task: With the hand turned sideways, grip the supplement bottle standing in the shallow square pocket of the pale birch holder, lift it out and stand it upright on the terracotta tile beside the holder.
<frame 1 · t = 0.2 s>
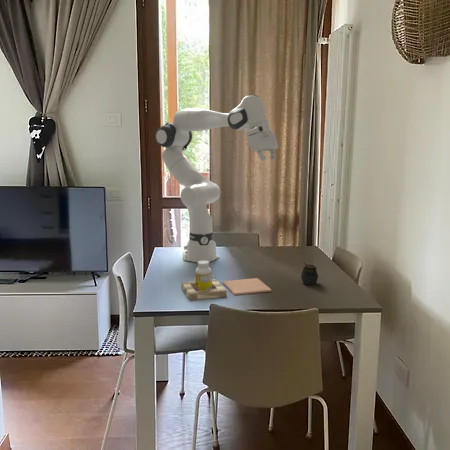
hand: (268, 160, 212), 52 cm above the table, tool tilted 20°, fingers open, 8 cm apart
mate gourd: (309, 283, 205), on the table
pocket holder: (203, 292, 193), on the table
terracotta tile: (246, 287, 200), on the table
supplement bottle: (203, 292, 193), resting in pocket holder
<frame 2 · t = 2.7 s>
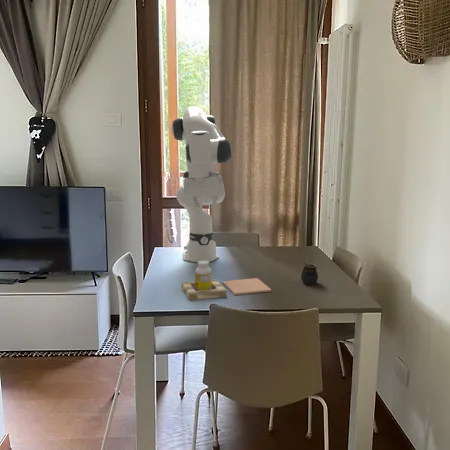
hand: (205, 207, 187), 35 cm above the table, tool pointing down, fingers open, 8 cm apart
nothing on the table moved.
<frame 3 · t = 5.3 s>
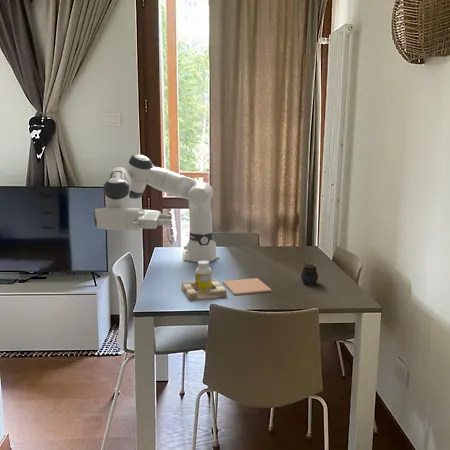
hand: (170, 219, 186), 30 cm above the table, tool horizontal, fingers open, 8 cm apart
nothing on the table moved.
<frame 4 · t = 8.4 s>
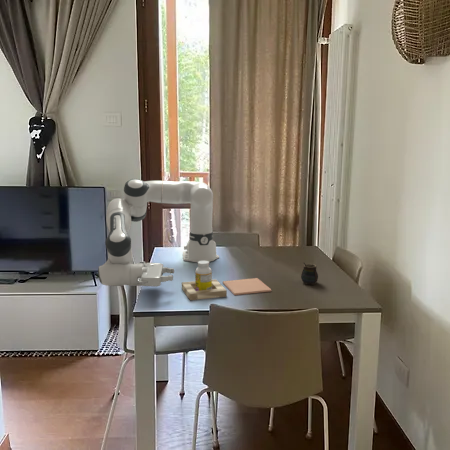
hand: (173, 274, 191), 8 cm above the table, tool horizontal, fingers open, 8 cm apart
nothing on the table moved.
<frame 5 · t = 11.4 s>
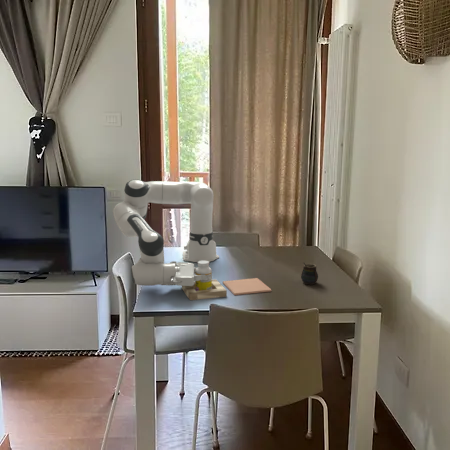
hand: (205, 273, 191), 8 cm above the table, tool horizontal, fingers closed on supplement bottle, 7 cm apart
supplement bottle: (203, 292, 193), resting in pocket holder, touching gripper
everything else where it was.
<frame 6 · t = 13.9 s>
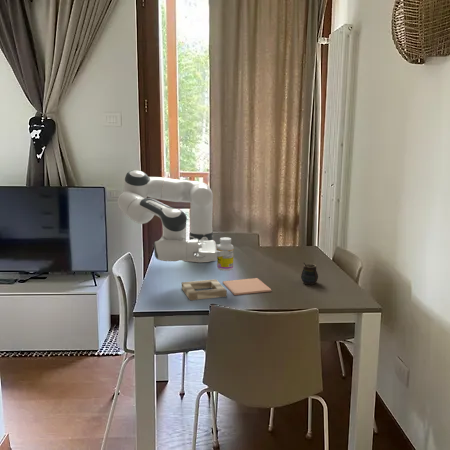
hand: (227, 250, 193), 17 cm above the table, tool horizontal, fingers closed on supplement bottle, 7 cm apart
supplement bottle: (225, 269, 195), point 9 cm above the table, touching gripper
everything else where it was.
when the fingers open (10 cm above the table, at t = 16.5 s): supplement bottle drops 1 cm, resting on terracotta tile.
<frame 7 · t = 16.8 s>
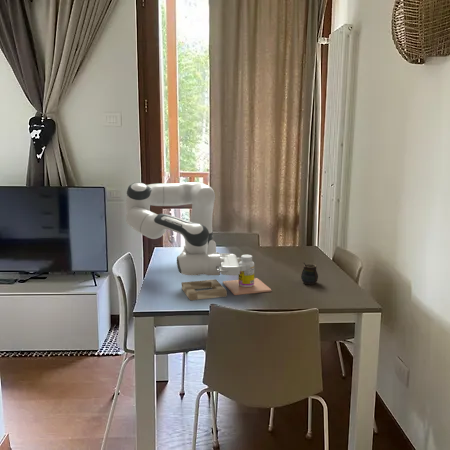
hand: (248, 264, 198), 10 cm above the table, tool horizontal, fingers open, 8 cm apart
supplement bottle: (246, 285, 199), point 1 cm above the table, touching terracotta tile
everything else where it was.
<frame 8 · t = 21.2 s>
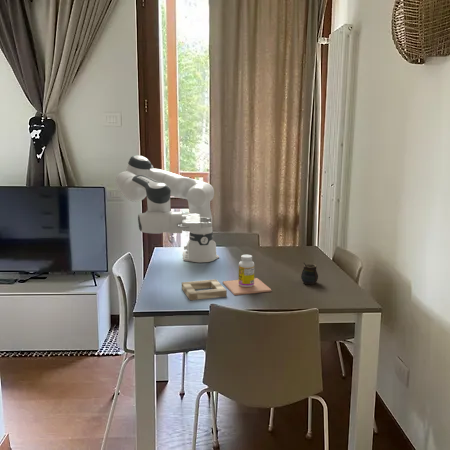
hand: (211, 222, 193), 28 cm above the table, tool horizontal, fingers open, 8 cm apart
nothing on the table moved.
at the end: supplement bottle inside the target area on the terracotta tile (0.1 cm from its centre), point 0.6 cm above the terracotta tile's base; supplement bottle tilted 0°; the gripper is holding nothing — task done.
